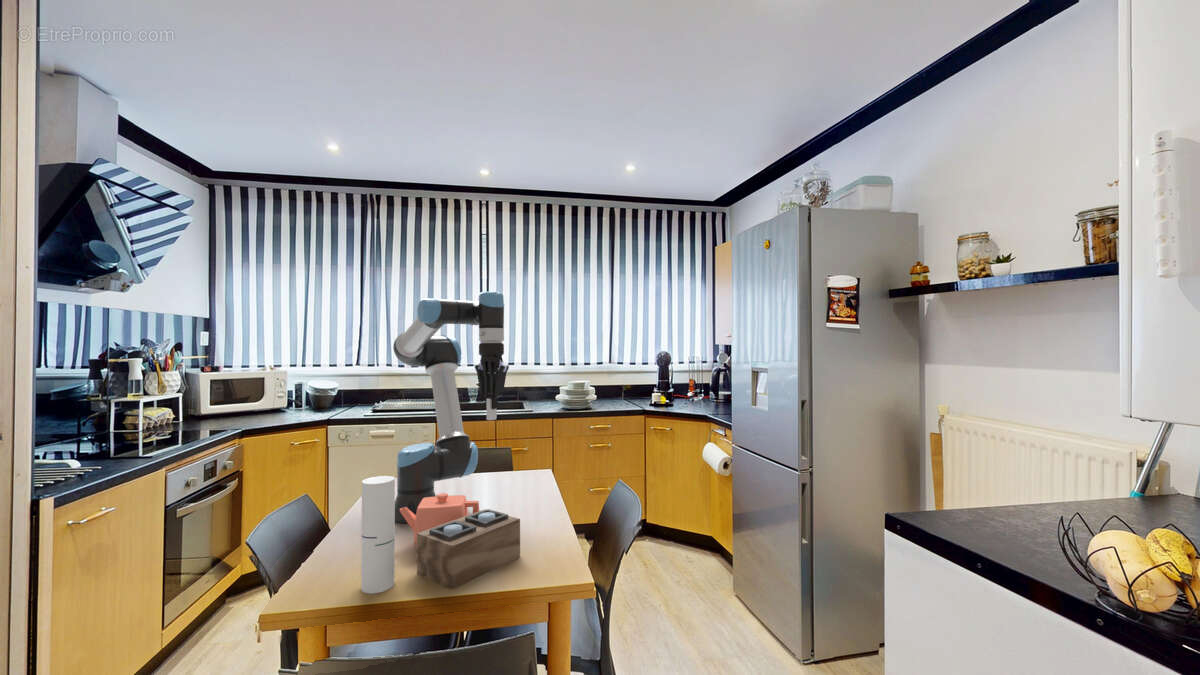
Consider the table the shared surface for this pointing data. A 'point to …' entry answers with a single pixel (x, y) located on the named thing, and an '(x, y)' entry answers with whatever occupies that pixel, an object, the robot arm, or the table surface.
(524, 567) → the table surface
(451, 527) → the peg front
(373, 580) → the cylindrical container
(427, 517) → the teapot
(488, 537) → the wooden peg block
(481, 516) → the peg rear
